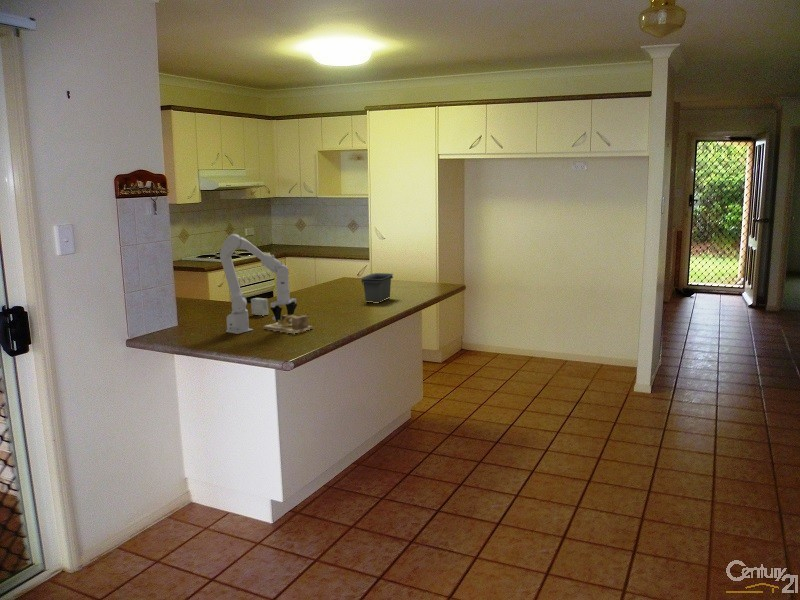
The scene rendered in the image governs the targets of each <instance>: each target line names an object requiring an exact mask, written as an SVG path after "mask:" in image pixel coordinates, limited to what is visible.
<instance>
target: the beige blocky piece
mask: <svg viewBox="0 0 800 600" xmlns="http://www.w3.org/2000/svg"><path fill="white" fill-rule="evenodd" d="M297 316H298V315H297ZM264 329H267V330H266V331H270V330H273V331H272V332H276V331H280V332H279V333H282V332H287V333H286V334H288V333H294V334H293V335H296V334H295V333H298V332H302V331H306V330H309V331H311V330H310V329H313V330H314V326H313V325H309V316H308V315H299V316H298V317H294V318H292V326H288V327H284V326H282V325H278V322H274V323H270V324H266V325H263V326H262V330H264ZM306 332H307V331H306ZM302 333H303V332H302ZM298 334H299V333H298Z"/></svg>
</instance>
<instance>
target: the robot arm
mask: <svg viewBox="0 0 800 600" xmlns="http://www.w3.org/2000/svg"><path fill="white" fill-rule="evenodd" d="M237 249H239V250H246V251H247V252H249V253H250V254H252V255H253V256H255V257H256V258H258V259H259V260H260V262H261V265H262V266H264V267H265V268H266V269H268V271H270V272H272V273H275V276H276V282H275V283H276V300H275V301H273V302H270V310H271V311H272V313H273V316H275V319H276V321H275V323H278V320H279V319H281V315H282V311H283V307H280V306H285V307H286V311H287V314H294V313H295V310H296V308H297V306H298V303H297V298H291V296H290V293H291V292H290V279H289V274H290V271H289V268H288V266H287V265H286V264H284V263H283V262H282V261H279V260H278V259H277V258H276V257H275V255H274V254H270V253H268V254H265V253H264V252H263V251H261V250H260V249H259V248H258V247H257V246H255V245H254V244H253V243H251V242H250V241H249V240H248V239H246V238H245V237H243V236H241V235H239V234H237V233H231V234H229V235H228V236H226V239H224V240H223V243H222V246H221V249H220V252H219V259H220V262H221V265H222V268H223V271H224V275H225V280H226V281H227V285H228V288H229V292H230V298H231V309H232V310H231V313H230V314H228V315H226V333H230V334H236V335H238V334H242V333H247V332H250V331H253V330H254V329H253V328H251V327H250V326H249V325H250V324H249V323H250V322H249V310H248V309H247V305H248V301H247V298H246V297H245V296H244V293H243V292H242V289H241V286H240V282H239V278H238V275H237V272H236V268H235V265H234V262H233V258H232V255H233V254H234V252H235V251H236V250H237ZM294 315H295V314H294Z"/></svg>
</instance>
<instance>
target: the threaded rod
mask: <svg viewBox="0 0 800 600" xmlns="http://www.w3.org/2000/svg"><path fill="white" fill-rule="evenodd" d="M271 319H272V321H275V322H276V319H275V316H274V315H273V316H272V317H271ZM281 319H282V318H281ZM288 323H292V319H291V318H288Z"/></svg>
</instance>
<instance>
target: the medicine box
mask: <svg viewBox="0 0 800 600" xmlns="http://www.w3.org/2000/svg"><path fill="white" fill-rule="evenodd" d="M250 307H251V315H252V314H255V315H262V316H264V315H268V314H269V315H270V311H269V298H262V297H255V298H250ZM269 315H268V316H269ZM262 316H261V317H262ZM264 317H265V316H264Z"/></svg>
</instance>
